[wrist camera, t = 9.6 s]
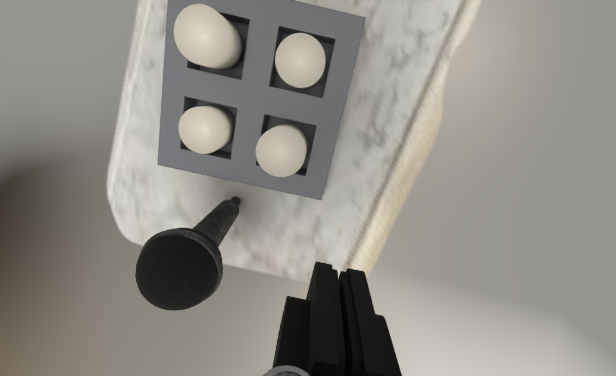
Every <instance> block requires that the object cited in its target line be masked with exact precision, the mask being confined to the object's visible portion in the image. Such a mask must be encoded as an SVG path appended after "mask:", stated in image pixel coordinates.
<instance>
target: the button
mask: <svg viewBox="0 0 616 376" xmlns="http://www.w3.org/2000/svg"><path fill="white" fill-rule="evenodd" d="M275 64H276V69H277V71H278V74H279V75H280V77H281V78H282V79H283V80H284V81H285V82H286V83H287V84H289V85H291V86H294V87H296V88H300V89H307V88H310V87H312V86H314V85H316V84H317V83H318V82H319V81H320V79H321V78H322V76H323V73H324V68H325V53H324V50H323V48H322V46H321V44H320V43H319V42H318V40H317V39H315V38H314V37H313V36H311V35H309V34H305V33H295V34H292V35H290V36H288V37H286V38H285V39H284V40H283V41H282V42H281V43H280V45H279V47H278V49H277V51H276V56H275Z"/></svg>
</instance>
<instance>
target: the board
mask: <svg viewBox="0 0 616 376" xmlns="http://www.w3.org/2000/svg"><path fill="white" fill-rule="evenodd" d="M193 4H204V5H207V6H210V7H212V8H213V9H215V10H216V11H217V12H218V13H219V14H221V15H222V16H223V17H224V18H225V19H227V20H228V21H229V22H230V23H231V24H233V25H234V26H235V27H236V29H237V30H238V32H239V33H240V36H241V39H242V46H243V47H242V54H241V57H240V59H239V60H238V62H237V63H236V64H235V65H234V66H232V67H231V68H229V69H226V70H217V69H213V68H209V67H206V66H202V65H198V64H195V63H193V62H191V61H189V60H188V59H186V58H185V57H184V56H183V55H182V53H181V52H180V51H179V49H178V47H177V45H176V42H175V38H174V25H175V21H176V19H177V17H178V15H179V14H180V12H181V11H182V10H183V9H185V8H186V7H188V6H190V5H193ZM365 19H366V17H361V16H357V15H353V14H349V13H344V12H340V11H336V10H331V9H327V8H323V7H318V6H314V5H310V4H306V3H301V2H297V1H293V0H168V7H167V23H166V39H165V55H164V71H163V86H162V102H161V118H160V134H159V150H158V165H161V166H166V167H170V168H175V169H180V170H184V171H189V172H193V173H198V174H203V175H207V176H212V177H217V178H221V179H226V180H230V181H235V182H240V183H244V184H249V185H253V186H258V187H263V188H267V189H272V190H277V191H281V192H286V193H290V194H295V195H300V196H304V197H309V198H314V199H318V200H322V196H323V192H324V188H325V184H326V180H327V176H328V172H329V167H330V163H331V159H332V155H333V151H334V147H335V143H336V139H337V135H338V130H339V126H340V122H341V118H342V114H343V110H344V106H345V102H346V97H347V93H348V89H349V85H350V81H351V77H352V73H353V69H354V65H355V60H356V56H357V52H358V48H359V44H360V40H361V36H362V32H363V27H364V23H365ZM295 33H305V34H309V35H311V36H313V37H314V38H315V39H317V40H318V42H319V43H320V44H321V46H322V48H323V50H324V53H325V68H324V73H323V76H322V78H321V79H320V81H319V82H318V83H317V84H316V85H314V86H312V87H310V88H307V89H300V88H296V87H294V86H291V85H289V84H287V83H286V82H285V81H284V80H283V79H282V78H281V77H280V75H279V74H278V71H277V69H276V64H275V56H276V51H277V49H278V47H279V45H280V43H281V42H282V41H283V40H284V39H285V38H286V37H288V36H290V35H292V34H295ZM201 106H221V107H224V108H226V109H227V110H229V111H230V112H231V113H232V115H233V116H234V118H235V120H236V124H235V132H234V139H233V141H232V142H231V143H229V144H228V145H226V146H224V147H222V148H220V149H218V150H216V151H214V152H211V153H208V154H200V153H196V152H194V151H192V150H190V149H189V148H188V147H187V146H186V145H185V144H184V143H183V141H182V140H181V138H180V135H179V129H178V126H179V121H180V118H181V116H182V115H183V114H184V113H185V112H186V111H187V110H189V109H191V108H193V107H201ZM284 123H287V124H292V125H295V126H297V127H298V128H299V129H301V131H302V132H303V133H304V135H305V137H306V139H307V152H306V156H305V159H304V162H303V165H302V166H301V168H300V169H299V170H298V171H297V172H296V173H294V174H292V175H290V176H287V177H276V176H272V175H270V174H268V173H267V172H265V171H264V170H263V169H262V168H261V166H260V165H259V163H258V161H257V158H256V145H257V142H258V140H259V138H260V137H261V136H262V135H263V134H264V133H265V132H266V131H268V130H270V129H271V128H273V127H274V126H276V125H279V124H284Z"/></svg>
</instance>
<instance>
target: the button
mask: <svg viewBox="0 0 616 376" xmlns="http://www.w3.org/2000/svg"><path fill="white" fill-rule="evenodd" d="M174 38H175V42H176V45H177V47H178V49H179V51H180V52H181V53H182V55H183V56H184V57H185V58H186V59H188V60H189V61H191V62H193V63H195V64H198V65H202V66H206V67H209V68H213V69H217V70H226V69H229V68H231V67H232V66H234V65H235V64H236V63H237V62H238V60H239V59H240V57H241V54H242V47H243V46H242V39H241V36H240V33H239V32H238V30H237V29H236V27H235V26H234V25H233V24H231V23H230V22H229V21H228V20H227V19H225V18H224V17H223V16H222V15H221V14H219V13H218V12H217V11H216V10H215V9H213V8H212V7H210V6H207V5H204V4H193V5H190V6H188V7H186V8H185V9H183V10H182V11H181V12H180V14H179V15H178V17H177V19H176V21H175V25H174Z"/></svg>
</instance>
